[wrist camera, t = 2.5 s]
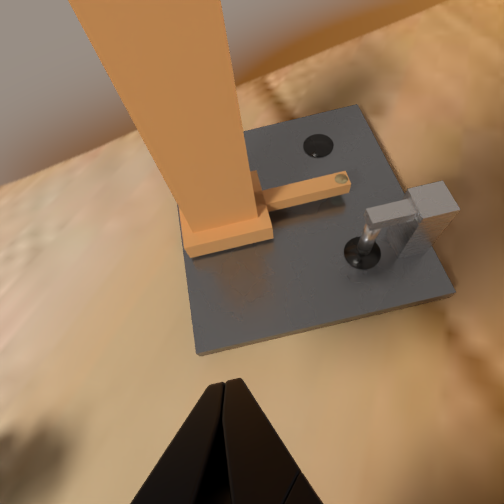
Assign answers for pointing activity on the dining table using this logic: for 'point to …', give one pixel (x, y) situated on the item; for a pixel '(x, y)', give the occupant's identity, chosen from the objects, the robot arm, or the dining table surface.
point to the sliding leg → (192, 116)
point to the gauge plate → (322, 241)
